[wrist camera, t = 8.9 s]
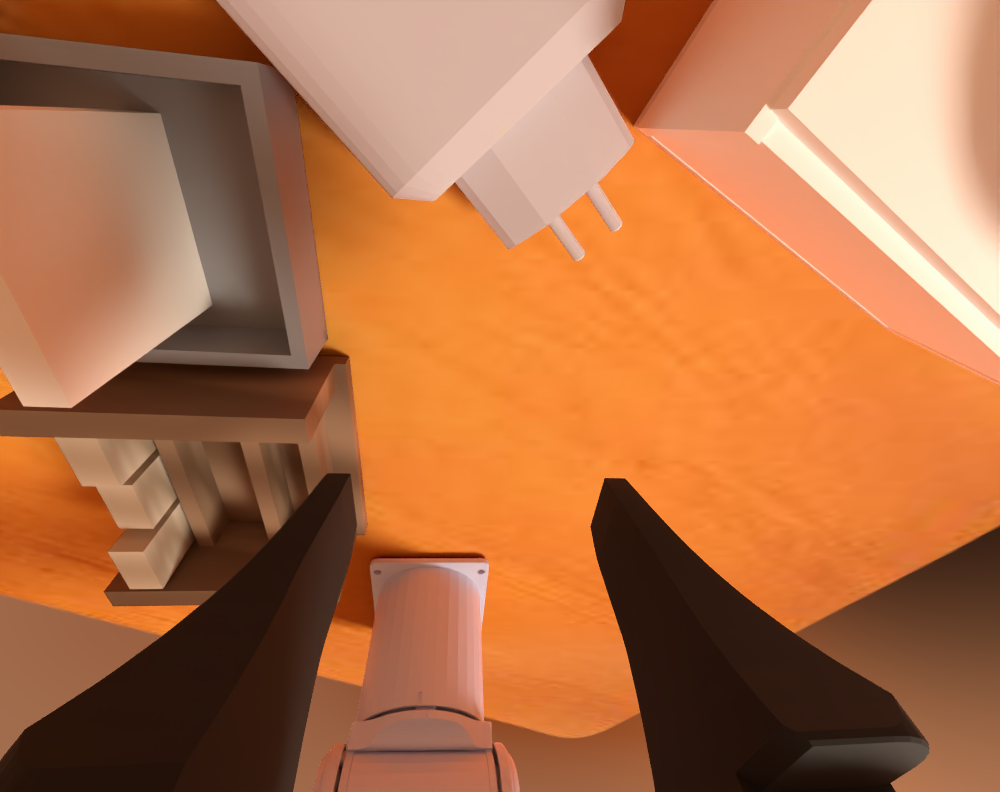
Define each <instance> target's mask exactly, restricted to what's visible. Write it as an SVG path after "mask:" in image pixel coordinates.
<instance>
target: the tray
mask: <svg viewBox="0 0 1000 792" xmlns="http://www.w3.org/2000/svg"><path fill="white" fill-rule="evenodd" d="M0 105H10V106H38V107H66V108H95V109H123V110H132V111H142V112H152V113H160V114H161V118H162V121H163V125H164V129H165V132H166V136H167V140H168V143H169V147H170V151H171V154H172V158H173V162H174V165H175V169H176V173H177V176H178V180H179V184H180V187H181V191H182V195H183V198H184V202H185V206H186V209H187V213H188V217H189V220H190V224H191V228H192V231H193V235H194V239H195V242H196V246H197V250H198V253H199V257H200V261H201V264H202V268H203V272H204V275H205V279H206V283H207V286H208V290H209V294H210V297H211V301H212V306H211V307H209V308H208V309H207V310H205V311H204V312H202V313H201V314H200V315H198V316H197V317H196V318H194V319H193V320H191V321H190V322H189V323H187V324H186V325H185V326H183V327H182V328H180V329H179V330H178V331H176V332H175V333H174V334H172V335H171V336H169V337H168V338H167V339H165V340H164V341H163V342H161V343H160V344H159V345H157V346H156V347H154V348H153V349H152V350H150V351H149V352H148V353H146V354H145V355H143V356H142V357H141V358H139V359H138V360H137V361H135V362H150V363H174V364H197V365H220V366H243V367H266V368H290V369H309V368H310V366H311V365H312V363H313V362H314V360H315V358H316V357H317V355H318V354H319V352H320V350H321V349H322V347H323V346H324V344H325V342H326V341H327V339H328V336H327V329H326V321H325V314H324V306H323V299H322V291H321V284H320V276H319V269H318V262H317V254H316V247H315V239H314V232H313V224H312V217H311V209H310V202H309V194H308V187H307V179H306V172H305V164H304V157H303V150H302V142H301V135H300V127H299V120H298V112H297V105H296V97H295V90H294V88H293V87H292V85H291V84H290V83H289V82H288V81H287V80H286V79H285V78H284V76H283V75H282V74H281V73H280V72H279V71H278V70H277V69H276V67H272V66H269V65H265V64H262V63H258V62H250V61H242V60H233V59H224V58H216V57H207V56H198V55H189V54H181V53H172V52H163V51H155V50H146V49H137V48H128V47H120V46H111V45H102V44H94V43H85V42H76V41H67V40H59V39H50V38H41V37H33V36H24V35H15V34H6V33H0Z"/></svg>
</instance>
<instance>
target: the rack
mask: <svg viewBox="0 0 1000 792" xmlns="http://www.w3.org/2000/svg"><path fill="white" fill-rule="evenodd" d="M0 436H18V437H58V438H97V439H137V440H154V442H155V444H156V447H157V449H158V451H159V454H160V456H161V458H162V461H163V463H164V465H165V468H166V470H167V472H168V475H169V477H170V480H171V482H172V484H173V487H174V489H175V491H176V494H177V496H178V498H179V501H180V503H181V505H182V508H183V510H184V512H185V515H186V517H187V519H188V522H189V524H190V526H191V529H192V531H193V533H194V536H195V540H194V541H193V543H192V545H191V546H190V548H189V549H188V551H187V552H186V554H185V555H184V557H183V559H182V560H181V562H180V563H179V565H178V566H177V568H176V569H175V571H174V573H173V574H172V576H171V577H170V579H169V580H168V582H167V583H166V585H165V586H164V588H163V589H130V588H129V587H128V585H127V583H126V582H125V580H124V578H123V577H122V575H121V573H120V572H119V573H118V574H117V575H116V577H115V578H114V579H113V580H112V582H111V583H110V584H109V586H108V587H107V588H106V590H105V591H104V593H105V595H106V596H107V598H108V599H109V601H110V602H111V604H112V605H113V606H170V605H201V604H202V603H204V602H205V601H206V600H207V599H208V598H210V597H211V596H212V595H213V594H214V593H215V592H216V591H217V590H219V589H220V588H221V587H222V586H223V585H224V584H225V583H226V582H228V581H229V580H230V579H231V578H232V577H233V576H234V575H235V574H236V573H237V572H238V571H239V570H240V569H241V568H242V567H243V566H244V565H246V564H247V563H248V562H249V561H250V559H251V558H252V557H253V556H254V555H255V554H256V553H257V552H258V551H259V550H260V549H261V548H262V547H263V546H264V545H265V544H266V543H267V542H268V541H269V540H270V539H271V538H272V537H273V536H274V535H275V534H276V533H277V531H278V530H279V529H280V528H281V527H282V526H283V525H284V524H285V522H286V521H287V520H288V519H289V518H290V517H291V516H292V515H293V513H294V512H295V511H296V510H297V509H298V508H299V506H300V505H301V504H302V503H303V502H304V500H305V499H306V498H307V497H308V496H309V494H310V493H311V492H312V491H313V489H314V488H315V487H316V486H317V484H318V483H319V482H320V481H321V479H322V478H323V477H324V476H325V475H326V474H327V473H350V474H351V480H352V488H353V496H354V504H355V512H356V520H357V528H356V534H355V539H356V535H365V532H366V528H367V517H366V508H365V499H364V489H363V480H362V471H361V462H360V452H359V443H358V434H357V424H356V415H355V406H354V397H353V387H352V378H351V369H350V359H349V357H348V356H326V355H317V357H316V358H315V360H314V362H313V363H312V365H311V366H310V368H309V369H290V368H266V367H243V366H220V365H197V364H174V363H150V362H134V363H132V364H131V365H130V366H128V367H127V368H126V369H124V370H123V371H121V372H120V373H119V374H117V375H116V376H115V377H113V378H112V379H110V380H109V381H108V382H106V383H105V384H104V385H102V386H101V387H100V388H98V389H97V390H95V391H94V392H93V393H91V394H90V395H89V396H87V397H86V398H84V399H83V400H82V401H80V402H79V403H78V404H76V405H75V406H73V407H72V408H58V407H29V406H23V405H22V403H21V401H20V400H19V398H18V396H17V395H16V393H15V391H13V392H11V393H10V394H8V395H6V396H5V397H3V398H1V399H0ZM355 539H354V543H355ZM353 547H354V545H353ZM352 551H353V550H352ZM346 574H347V573H346ZM345 578H346V576H345ZM344 581H345V579H344ZM343 585H344V583H343ZM342 589H343V586H342ZM342 589H341V592H340V595H339V599H338V602H337V603H339V601H340V597H341V593H342Z"/></svg>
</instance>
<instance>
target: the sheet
mask: <svg viewBox="0 0 1000 792" xmlns="http://www.w3.org/2000/svg"><path fill="white" fill-rule="evenodd" d="M211 306H212V301H211V297H210V294H209V290H208V286H207V283H206V279H205V275H204V272H203V268H202V264H201V261H200V257H199V253H198V250H197V246H196V242H195V239H194V235H193V231H192V228H191V224H190V220H189V217H188V213H187V209H186V206H185V202H184V198H183V195H182V191H181V187H180V184H179V180H178V176H177V173H176V169H175V165H174V162H173V158H172V154H171V151H170V147H169V143H168V140H167V136H166V132H165V129H164V125H163V121H162V118H161V114H160V113H152V112H142V111H132V110H123V109H95V108H66V107H38V106H10V105H0V368H1V369H2V371H3V373H4V374H5V376H6V378H7V379H8V381H9V383H10V384H11V386H12V388H13V390H14V391H15V393H16V395H17V396H18V398H19V400H20V401H21V403H22V405H23V406H29V407H58V408H72V407H73V406H75V405H76V404H78V403H79V402H80V401H82V400H83V399H84V398H86V397H87V396H89V395H90V394H91V393H93V392H94V391H95V390H97V389H98V388H100V387H101V386H102V385H104V384H105V383H106V382H108V381H109V380H110V379H112V378H113V377H115V376H116V375H117V374H119V373H120V372H121V371H123V370H124V369H126V368H127V367H128V366H130V365H131V364H132V363H134V362H135V361H137V360H138V359H139V358H141V357H142V356H143V355H145V354H146V353H148V352H149V351H150V350H152V349H153V348H154V347H156V346H157V345H159V344H160V343H161V342H163V341H164V340H165V339H167V338H168V337H169V336H171V335H172V334H174V333H175V332H176V331H178V330H179V329H180V328H182V327H183V326H185V325H186V324H187V323H189V322H190V321H191V320H193V319H194V318H196V317H197V316H198V315H200V314H201V313H202V312H204V311H205V310H207V309H208V308H209V307H211Z"/></svg>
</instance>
